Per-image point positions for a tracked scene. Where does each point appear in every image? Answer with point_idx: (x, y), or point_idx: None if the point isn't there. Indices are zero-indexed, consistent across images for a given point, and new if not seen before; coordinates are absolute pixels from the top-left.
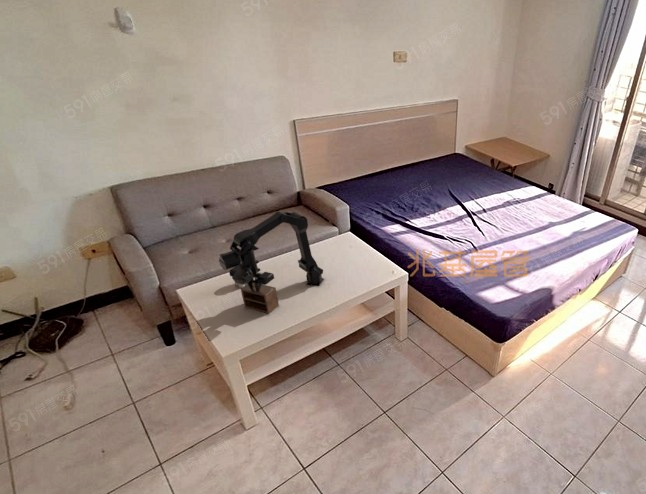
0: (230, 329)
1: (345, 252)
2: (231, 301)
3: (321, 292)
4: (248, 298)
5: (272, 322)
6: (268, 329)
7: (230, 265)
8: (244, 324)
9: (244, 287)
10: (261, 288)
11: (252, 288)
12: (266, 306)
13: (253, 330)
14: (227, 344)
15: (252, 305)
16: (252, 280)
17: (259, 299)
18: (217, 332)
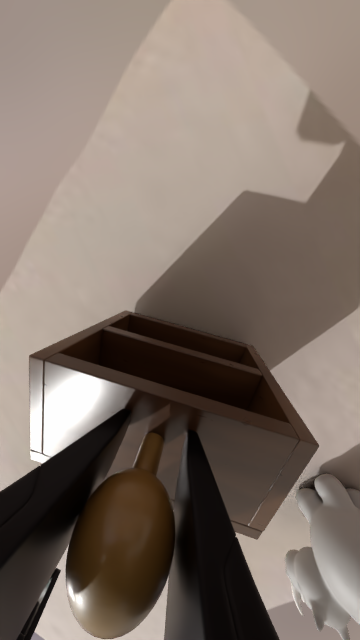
0: (255, 179)
1: (57, 611)
2: (336, 386)
3: (20, 442)
4: (229, 369)
5: (92, 261)
6: (84, 211)
7: None
8: (203, 229)
9: (287, 467)
10: (122, 451)
11: (184, 448)
12: (111, 321)
13: (143, 192)
14: (219, 46)
15: (217, 353)
16: (170, 635)
17: (157, 364)
18: (316, 139)
